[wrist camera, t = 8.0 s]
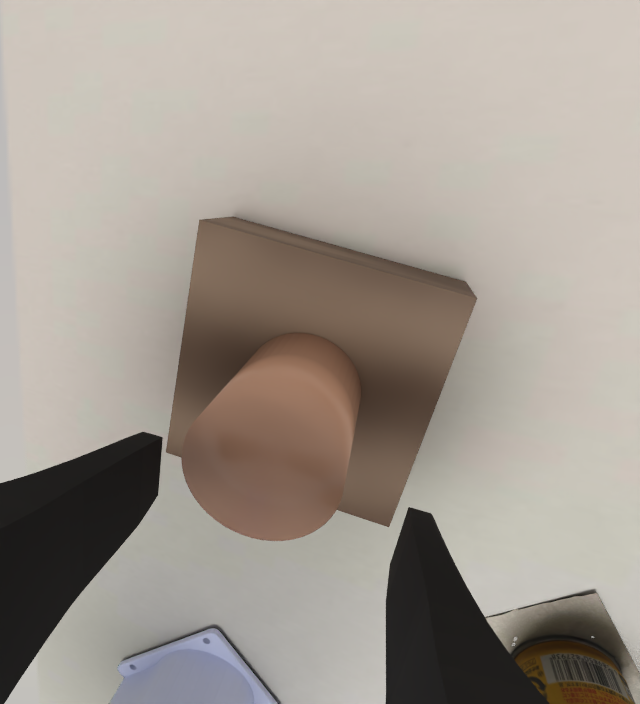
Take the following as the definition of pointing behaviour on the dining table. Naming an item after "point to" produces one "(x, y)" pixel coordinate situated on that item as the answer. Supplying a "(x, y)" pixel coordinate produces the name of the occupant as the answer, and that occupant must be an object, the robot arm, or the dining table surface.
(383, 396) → the walnut block
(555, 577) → the dining table surface
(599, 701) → the condiment
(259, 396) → the terracotta cylinder
